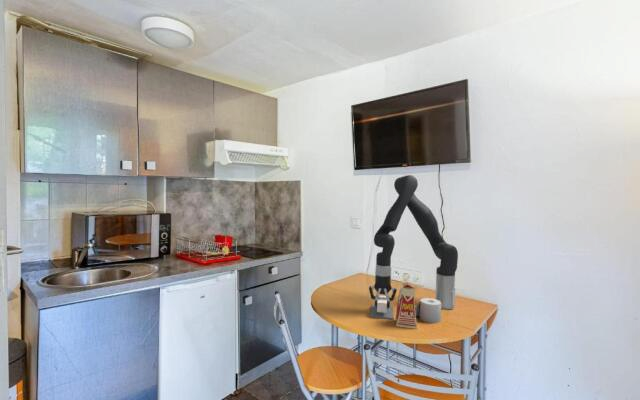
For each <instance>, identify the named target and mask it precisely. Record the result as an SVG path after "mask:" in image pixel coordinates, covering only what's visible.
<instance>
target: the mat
mask: <svg viewBox="0 0 640 400" xmlns="http://www.w3.org/2000/svg"><path fill="white" fill-rule="evenodd" d="M394 315H395V314H394V306H390V307H389V308H388V309H387V313H383V312H377V308H376V307H375V304H371V308H370V313H369V318H373V319H374V318H375V319H380V320H381V319H383V320H391V321H392V320H393V321H394V319H395V318H394Z"/></svg>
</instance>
